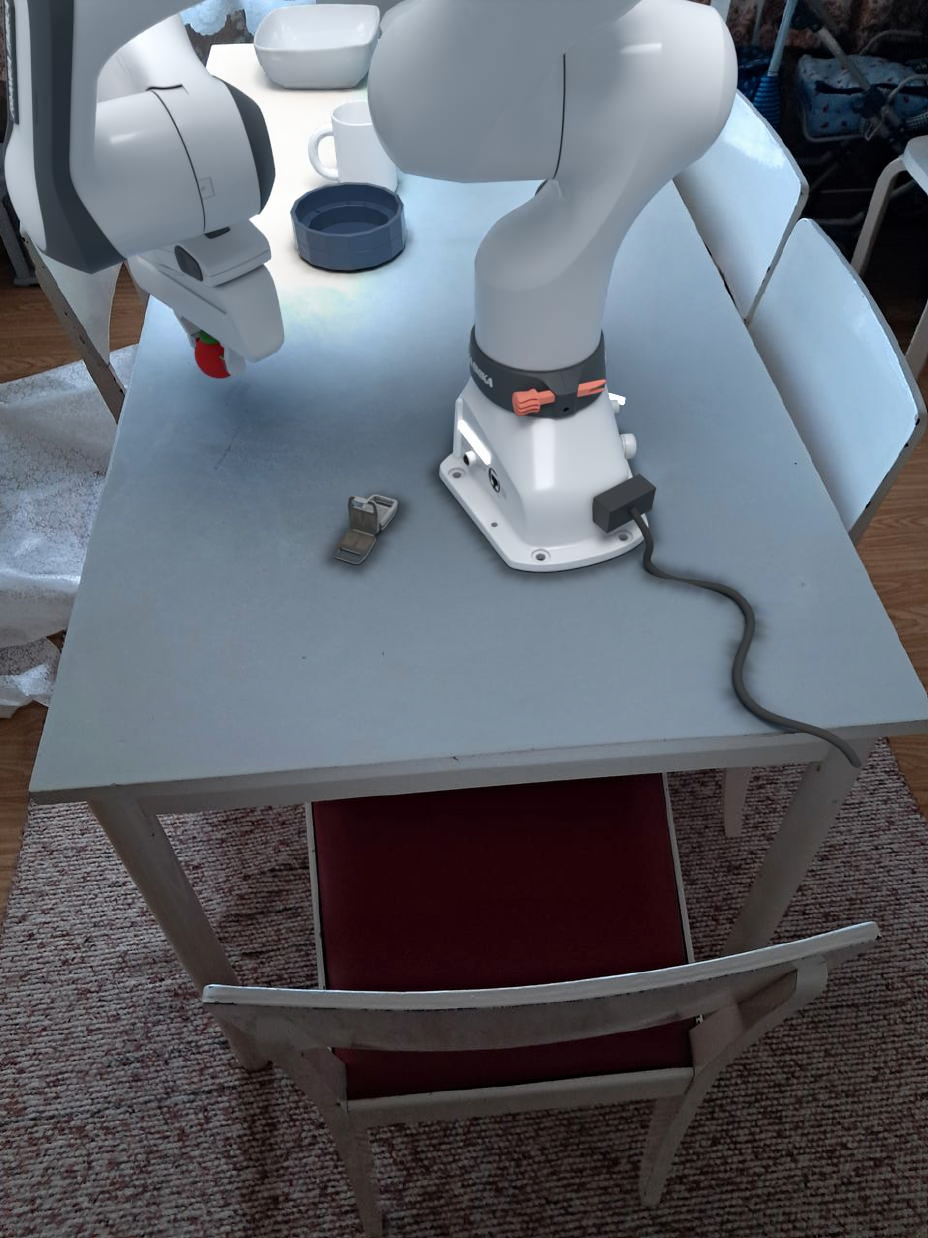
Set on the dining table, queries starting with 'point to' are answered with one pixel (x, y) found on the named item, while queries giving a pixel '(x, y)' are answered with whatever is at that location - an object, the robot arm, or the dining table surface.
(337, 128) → the mug
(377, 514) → the strap clip
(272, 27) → the bowl
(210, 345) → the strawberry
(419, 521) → the dining table surface
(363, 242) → the bowl
